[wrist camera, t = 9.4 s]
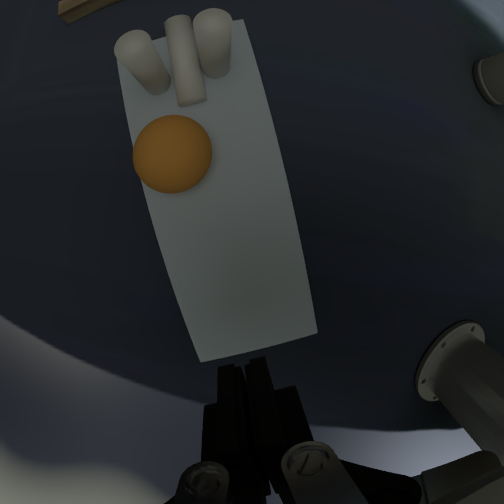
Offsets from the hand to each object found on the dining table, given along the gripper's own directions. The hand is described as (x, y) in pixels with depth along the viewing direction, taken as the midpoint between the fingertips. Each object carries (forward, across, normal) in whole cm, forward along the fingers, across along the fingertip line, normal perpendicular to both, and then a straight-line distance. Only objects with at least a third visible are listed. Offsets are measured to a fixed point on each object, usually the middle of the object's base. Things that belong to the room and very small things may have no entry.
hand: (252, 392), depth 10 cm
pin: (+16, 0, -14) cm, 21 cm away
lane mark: (+17, 0, -6) cm, 18 cm away
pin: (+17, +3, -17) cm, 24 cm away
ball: (+14, +2, -10) cm, 17 cm away
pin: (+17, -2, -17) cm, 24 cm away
